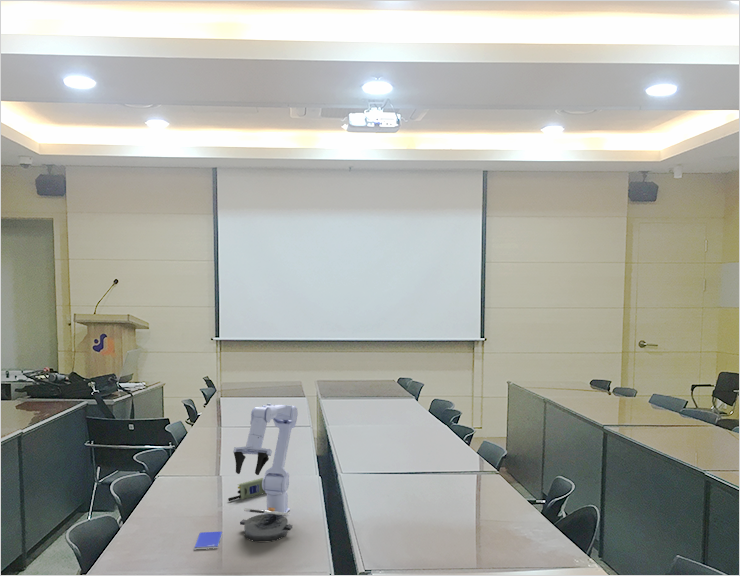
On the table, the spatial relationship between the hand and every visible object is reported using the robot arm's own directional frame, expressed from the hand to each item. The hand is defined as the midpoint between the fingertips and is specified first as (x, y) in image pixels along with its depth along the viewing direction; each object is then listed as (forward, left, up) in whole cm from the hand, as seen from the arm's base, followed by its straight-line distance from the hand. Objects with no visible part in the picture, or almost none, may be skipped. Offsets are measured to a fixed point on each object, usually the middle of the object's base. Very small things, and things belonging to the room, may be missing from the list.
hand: (247, 473), depth 219 cm
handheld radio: (-44, -20, -26) cm, 55 cm away
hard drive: (+3, -14, -26) cm, 30 cm away
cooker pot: (-10, +3, -25) cm, 27 cm away
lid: (-10, +3, -18) cm, 21 cm away
